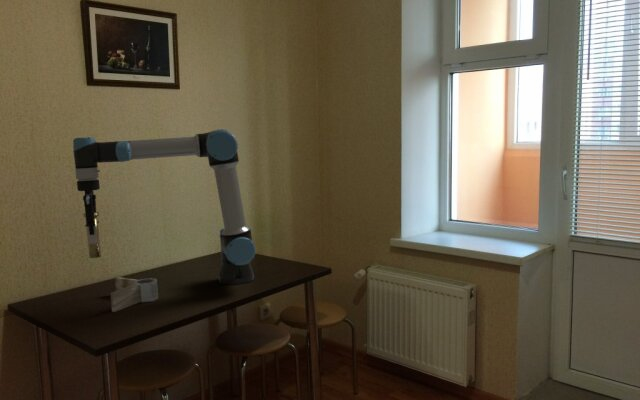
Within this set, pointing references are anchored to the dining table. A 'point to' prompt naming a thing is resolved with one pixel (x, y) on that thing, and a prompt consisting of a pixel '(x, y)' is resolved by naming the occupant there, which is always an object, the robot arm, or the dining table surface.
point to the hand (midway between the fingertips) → (93, 241)
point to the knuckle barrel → (147, 289)
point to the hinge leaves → (124, 294)
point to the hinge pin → (95, 247)
